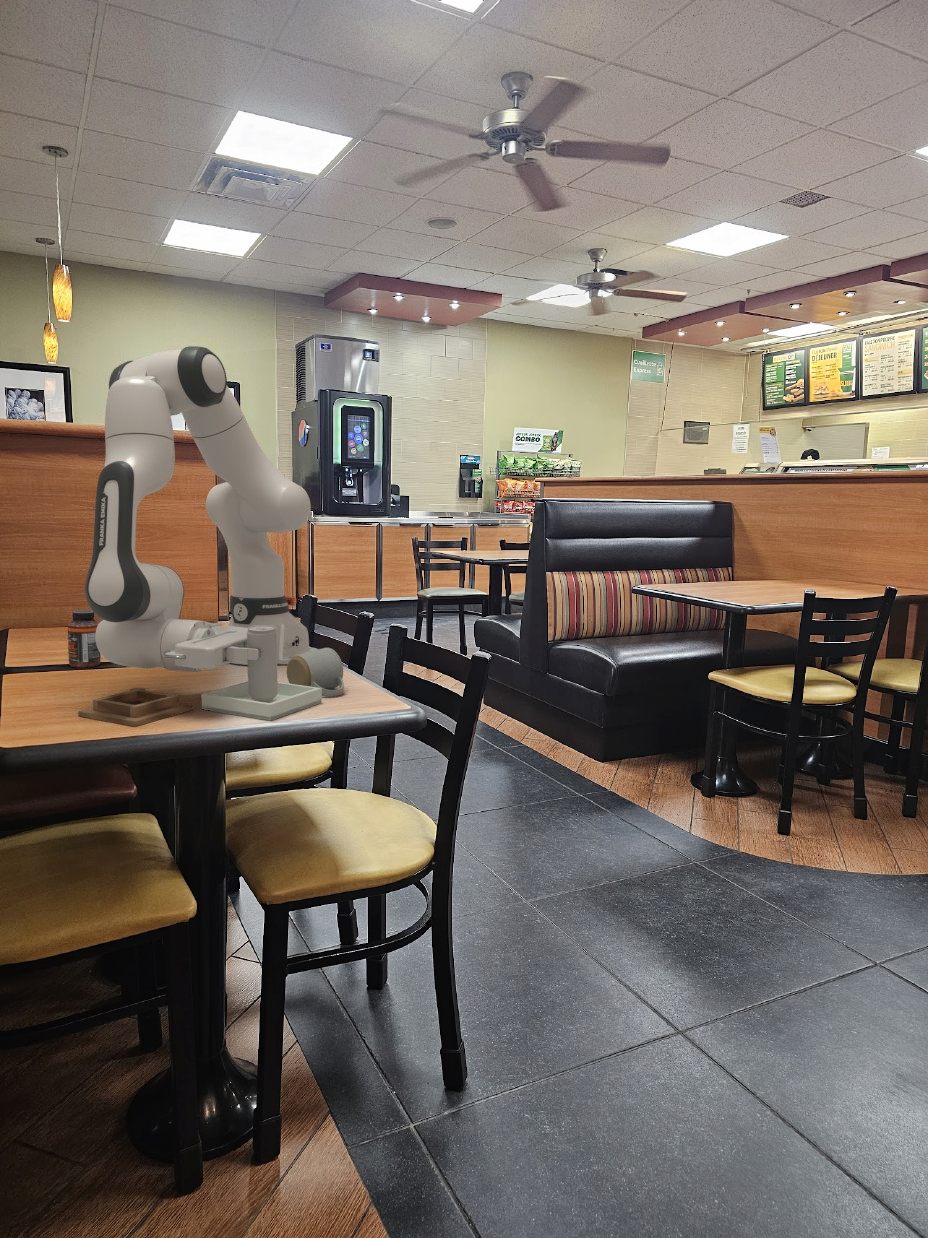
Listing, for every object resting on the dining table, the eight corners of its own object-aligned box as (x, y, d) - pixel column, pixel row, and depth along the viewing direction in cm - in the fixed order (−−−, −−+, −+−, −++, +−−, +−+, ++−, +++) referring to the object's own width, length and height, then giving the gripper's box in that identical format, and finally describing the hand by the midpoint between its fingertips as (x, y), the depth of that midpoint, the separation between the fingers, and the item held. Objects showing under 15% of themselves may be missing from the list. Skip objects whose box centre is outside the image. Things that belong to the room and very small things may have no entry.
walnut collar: (138, 700, 134) (138, 686, 134) (192, 709, 130) (192, 695, 129) (78, 716, 124) (77, 700, 123) (134, 726, 119) (134, 710, 118)
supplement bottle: (62, 665, 161) (60, 610, 160) (90, 661, 166) (89, 608, 165) (78, 669, 158) (76, 613, 156) (106, 665, 163) (105, 611, 161)
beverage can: (269, 702, 131) (268, 631, 129) (243, 699, 132) (241, 629, 130) (282, 694, 135) (281, 626, 133) (256, 691, 136) (255, 624, 134)
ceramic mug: (283, 690, 146) (283, 649, 144) (318, 684, 152) (319, 644, 151) (319, 701, 139) (320, 658, 138) (355, 694, 145) (356, 653, 144)
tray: (257, 693, 143) (257, 679, 142) (321, 702, 137) (321, 688, 137) (201, 709, 130) (201, 694, 130) (270, 721, 124) (270, 704, 124)
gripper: (156, 636, 124) (239, 641, 121) (218, 620, 144) (290, 624, 141) (157, 675, 124) (239, 681, 122) (218, 654, 144) (290, 659, 142)
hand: (267, 650), depth 132 cm, fingers closed on beverage can, 5 cm apart
